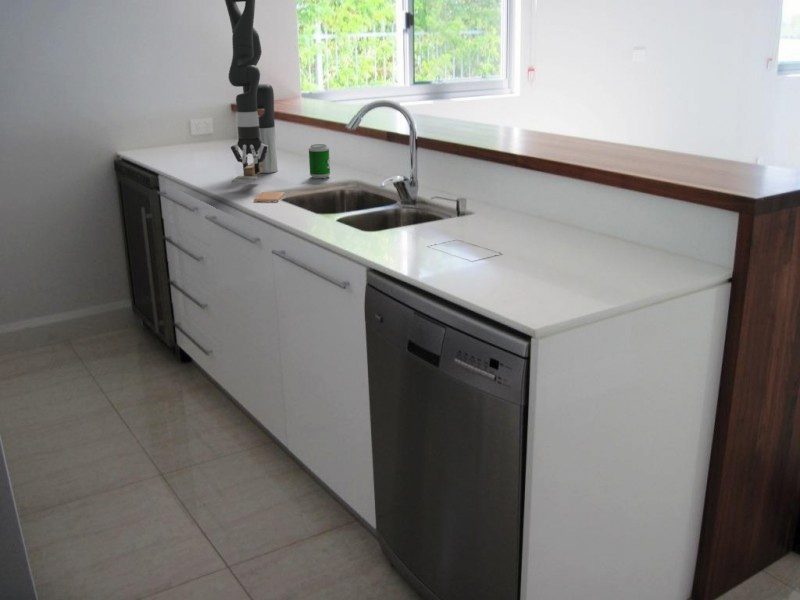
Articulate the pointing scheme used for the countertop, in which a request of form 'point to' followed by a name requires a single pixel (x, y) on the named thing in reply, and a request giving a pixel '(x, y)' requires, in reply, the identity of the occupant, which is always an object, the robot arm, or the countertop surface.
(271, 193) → the tile
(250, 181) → the turner
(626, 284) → the countertop surface
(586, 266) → the countertop surface
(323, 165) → the soda can
